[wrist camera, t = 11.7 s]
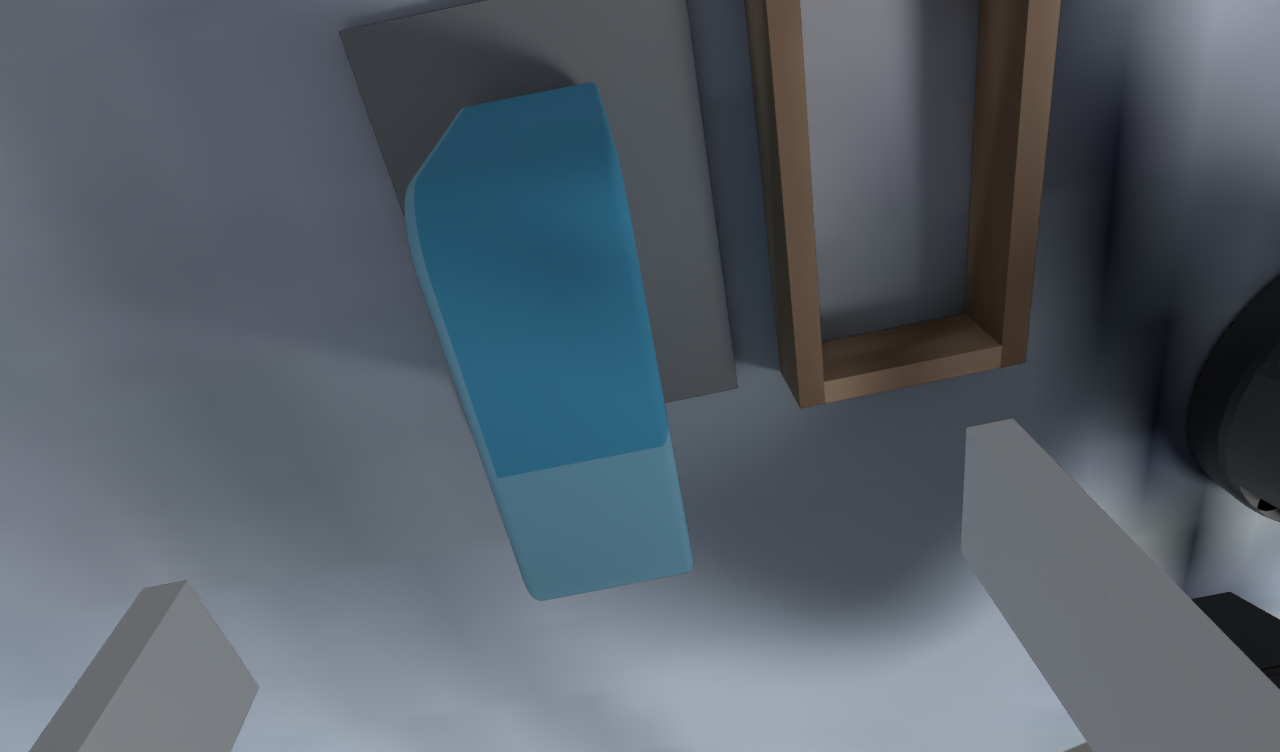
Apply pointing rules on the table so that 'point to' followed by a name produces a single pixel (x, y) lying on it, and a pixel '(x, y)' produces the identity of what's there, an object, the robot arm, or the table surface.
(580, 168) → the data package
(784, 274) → the walnut box
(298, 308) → the table surface
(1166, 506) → the table surface
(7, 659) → the table surface
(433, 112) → the charcoal mat
